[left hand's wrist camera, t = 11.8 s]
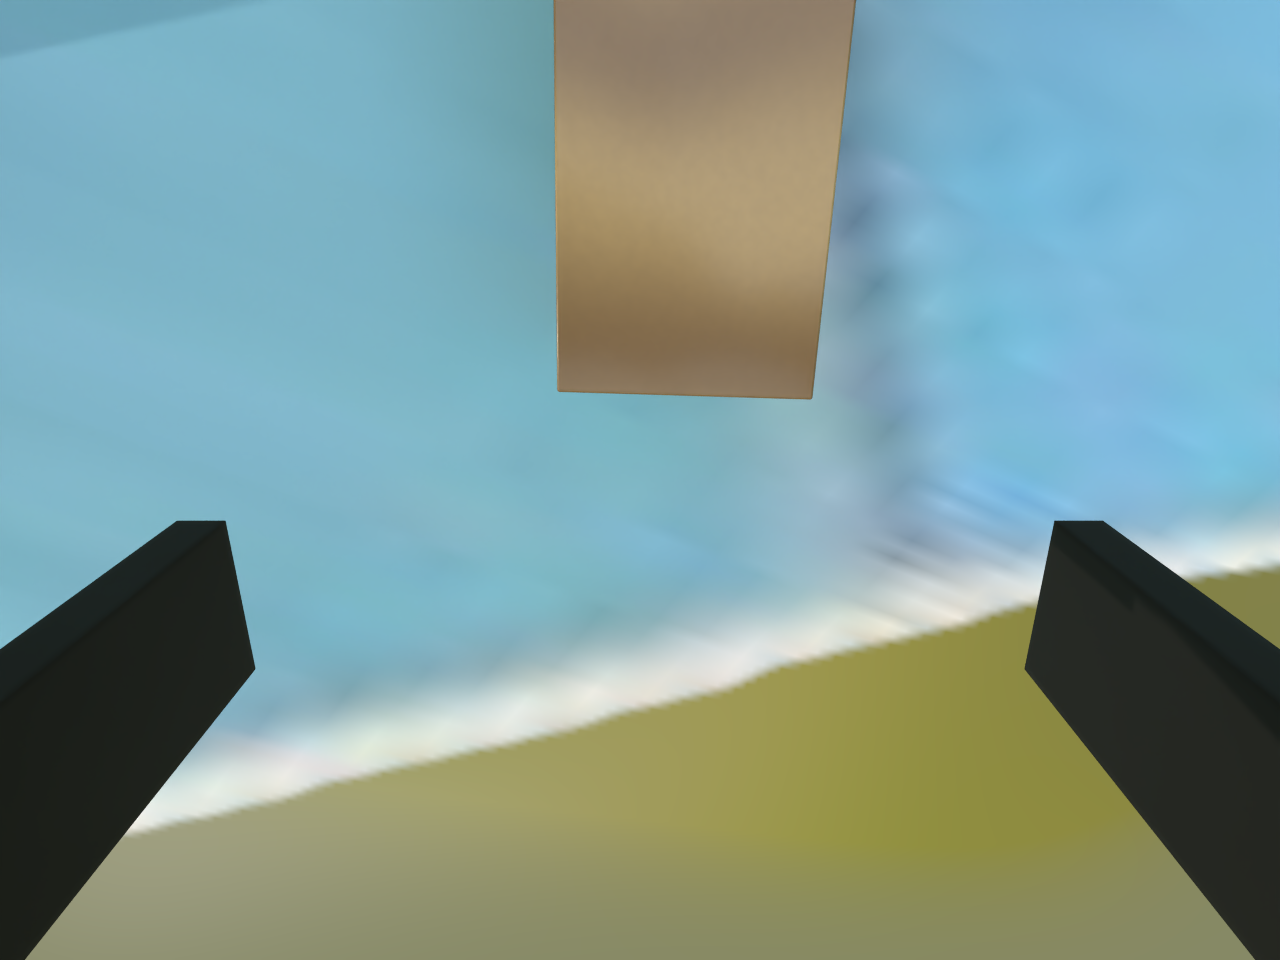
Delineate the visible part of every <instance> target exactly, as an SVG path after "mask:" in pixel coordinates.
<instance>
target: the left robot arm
mask: <svg viewBox="0 0 1280 960" xmlns="http://www.w3.org/2000/svg"><path fill="white" fill-rule="evenodd" d="M254 670H255V664H254V659H253V654H252V649H251V645H250V640H249V635H248V630H247V625H246V620H245V615H244V610H243V605H242V600H241V595H240V590H239V585H238V580H237V575H236V570H235V566H234V561H233V556H232V551H231V546H230V541H229V536H228V531H227V526H226V521H176V522H175V523H173V524H172V525H171V526H169V527H168V528H166V529H165V530H164V531H162V532H161V533H160V534H158V535H157V536H155V537H154V538H153V539H151V540H150V541H149V542H147V543H146V544H144V545H143V546H142V547H140V548H139V549H138V550H136V551H135V552H133V553H132V554H131V555H129V556H128V557H127V558H125V559H124V560H122V561H121V562H120V563H118V564H117V565H116V566H114V567H113V568H111V569H110V570H109V571H107V572H106V573H104V574H103V575H102V576H100V577H99V578H98V579H96V580H95V581H93V582H92V583H91V584H89V585H88V586H87V587H85V588H84V589H82V590H81V591H80V592H78V593H77V594H76V595H74V596H73V597H71V598H70V599H69V600H67V601H66V602H65V603H63V604H62V605H60V606H59V607H58V608H56V609H55V610H54V611H52V612H51V613H49V614H48V615H47V616H45V617H44V618H43V619H41V620H40V621H38V622H37V623H36V624H34V625H33V626H32V627H30V628H29V629H27V630H26V631H25V632H23V633H22V634H21V635H19V636H18V637H16V638H15V639H14V640H12V641H11V642H10V643H8V644H7V645H5V646H4V647H3V648H1V649H0V960H25V959H26V958H27V956H28V955H29V954H30V952H31V951H32V950H33V949H34V947H35V946H36V945H37V944H38V942H39V941H40V940H41V939H42V937H43V936H44V935H45V934H46V932H47V931H48V930H49V929H50V927H51V926H52V925H53V923H54V922H55V921H56V920H57V918H58V917H59V916H60V915H61V913H62V912H63V911H64V910H65V908H66V907H67V906H68V905H69V903H70V902H71V901H72V900H73V898H74V897H75V896H76V895H77V893H78V892H79V891H80V889H81V888H82V887H83V886H84V884H85V883H86V882H87V881H88V879H89V878H90V877H91V876H92V874H93V873H94V872H95V871H96V869H97V868H98V867H99V865H100V864H101V863H102V862H103V861H104V859H105V858H106V857H107V855H108V854H109V853H110V852H111V850H112V849H113V848H114V847H115V845H116V844H117V843H118V842H119V840H120V839H121V838H122V837H123V835H124V834H125V833H126V832H127V830H128V829H129V828H130V826H131V825H132V824H133V823H134V821H135V820H136V819H137V818H138V816H139V815H140V814H141V813H142V811H143V810H144V809H145V808H146V806H147V805H148V804H149V803H150V801H151V800H152V799H153V798H154V796H155V795H156V794H157V792H158V791H159V790H160V789H161V787H162V786H163V785H164V784H165V782H166V781H167V780H168V779H169V777H170V776H171V775H172V774H173V772H174V771H175V770H176V769H177V767H178V766H179V765H180V763H181V762H182V761H183V760H184V758H185V757H186V756H187V755H188V753H189V752H190V751H191V750H192V748H193V747H194V746H195V745H196V743H197V742H198V741H199V740H200V738H201V737H202V736H203V735H204V733H205V732H206V731H207V729H208V728H209V727H210V726H211V724H212V723H213V722H214V721H215V719H216V718H217V717H218V716H219V714H220V713H221V712H222V711H223V709H224V708H225V707H226V706H227V704H228V703H229V702H230V700H231V699H232V698H233V697H234V695H235V694H236V693H237V692H238V690H239V689H240V688H241V687H242V685H243V684H244V683H245V682H246V680H247V679H248V678H249V677H250V675H251V674H252V673H253V671H254ZM1025 670H1026V671H1027V673H1028V674H1029V675H1030V677H1031V678H1032V679H1033V680H1034V682H1035V683H1036V684H1037V685H1038V687H1039V688H1040V689H1041V690H1042V692H1043V693H1044V694H1045V695H1046V697H1047V698H1048V699H1049V700H1050V702H1051V703H1052V704H1053V705H1054V707H1055V708H1056V709H1057V711H1058V712H1059V713H1060V714H1061V716H1062V717H1063V718H1064V719H1065V721H1066V722H1067V723H1068V724H1069V726H1070V727H1071V728H1072V729H1073V731H1074V732H1075V733H1076V735H1077V736H1078V737H1079V738H1080V740H1081V741H1082V742H1083V743H1084V745H1085V746H1086V747H1087V748H1088V750H1089V751H1090V752H1091V753H1092V755H1093V756H1094V757H1095V758H1096V760H1097V761H1098V762H1099V763H1100V765H1101V766H1102V767H1103V769H1104V770H1105V771H1106V772H1107V774H1108V775H1109V776H1110V777H1111V779H1112V780H1113V781H1114V782H1115V784H1116V785H1117V786H1118V787H1119V789H1120V790H1121V791H1122V792H1123V794H1124V795H1125V796H1126V797H1127V799H1128V800H1129V801H1130V803H1131V804H1132V805H1133V806H1134V808H1135V809H1136V810H1137V811H1138V813H1139V814H1140V815H1141V816H1142V818H1143V819H1144V820H1145V821H1146V823H1147V824H1148V825H1149V826H1150V828H1151V829H1152V830H1153V832H1154V833H1155V834H1156V835H1157V837H1158V838H1159V839H1160V840H1161V842H1162V843H1163V844H1164V845H1165V847H1166V848H1167V849H1168V850H1169V852H1170V853H1171V854H1172V855H1173V857H1174V858H1175V859H1176V861H1177V862H1178V863H1179V864H1180V866H1181V867H1182V868H1183V869H1184V871H1185V872H1186V873H1187V874H1188V876H1189V877H1190V878H1191V879H1192V881H1193V882H1194V883H1195V884H1196V886H1197V887H1198V888H1199V889H1200V891H1201V892H1202V893H1203V895H1204V896H1205V897H1206V898H1207V900H1208V901H1209V902H1210V903H1211V905H1212V906H1213V907H1214V908H1215V910H1216V911H1217V912H1218V913H1219V915H1220V916H1221V917H1222V918H1223V920H1224V921H1225V922H1226V924H1227V925H1228V926H1229V927H1230V929H1231V930H1232V931H1233V932H1234V934H1235V935H1236V936H1237V937H1238V939H1239V940H1240V941H1241V942H1242V944H1243V945H1244V946H1245V947H1246V949H1247V950H1248V951H1249V953H1250V954H1251V955H1252V956H1253V958H1254V959H1255V960H1280V649H1279V648H1277V647H1276V646H1275V645H1273V644H1272V643H1270V642H1269V641H1268V640H1266V639H1265V638H1264V637H1262V636H1261V635H1259V634H1258V633H1257V632H1255V631H1254V630H1253V629H1251V628H1250V627H1248V626H1247V625H1246V624H1244V623H1243V622H1242V621H1240V620H1239V619H1237V618H1236V617H1235V616H1233V615H1232V614H1231V613H1229V612H1228V611H1226V610H1225V609H1224V608H1222V607H1221V606H1219V605H1218V604H1217V603H1215V602H1214V601H1213V600H1211V599H1210V598H1209V597H1207V596H1206V595H1204V594H1203V593H1202V592H1200V591H1199V590H1198V589H1196V588H1195V587H1193V586H1192V585H1191V584H1189V583H1188V582H1187V581H1185V580H1184V579H1182V578H1181V577H1180V576H1178V575H1177V574H1176V573H1174V572H1173V571H1171V570H1170V569H1169V568H1167V567H1166V566H1164V565H1163V564H1162V563H1160V562H1159V561H1158V560H1156V559H1155V558H1153V557H1152V556H1151V555H1149V554H1148V553H1147V552H1145V551H1144V550H1142V549H1141V548H1140V547H1138V546H1137V545H1136V544H1134V543H1133V542H1131V541H1130V540H1129V539H1127V538H1126V537H1125V536H1123V535H1122V534H1120V533H1119V532H1118V531H1116V530H1115V529H1114V528H1112V527H1111V526H1109V525H1108V524H1107V523H1105V522H1104V521H1054V526H1053V531H1052V536H1051V541H1050V546H1049V551H1048V556H1047V561H1046V565H1045V570H1044V575H1043V580H1042V585H1041V590H1040V595H1039V600H1038V605H1037V610H1036V615H1035V620H1034V625H1033V630H1032V635H1031V640H1030V645H1029V649H1028V654H1027V659H1026V664H1025Z"/></svg>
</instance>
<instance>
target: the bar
mask: <svg viewBox="0 0 1280 960" xmlns="http://www.w3.org/2000/svg"><path fill="white" fill-rule="evenodd" d="M855 5H856V0H554V96H555V203H556V309H557V390H558V391H559V392H583V393H616V394H648V395H681V396H714V397H747V398H780V399H812V396H813V387H814V378H815V369H816V359H817V350H818V341H819V332H820V323H821V314H822V305H823V296H824V287H825V278H826V269H827V260H828V250H829V241H830V232H831V223H832V214H833V205H834V196H835V187H836V178H837V169H838V160H839V151H840V141H841V132H842V123H843V114H844V105H845V96H846V87H847V78H848V69H849V60H850V51H851V42H852V32H853V23H854V14H855Z"/></svg>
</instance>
